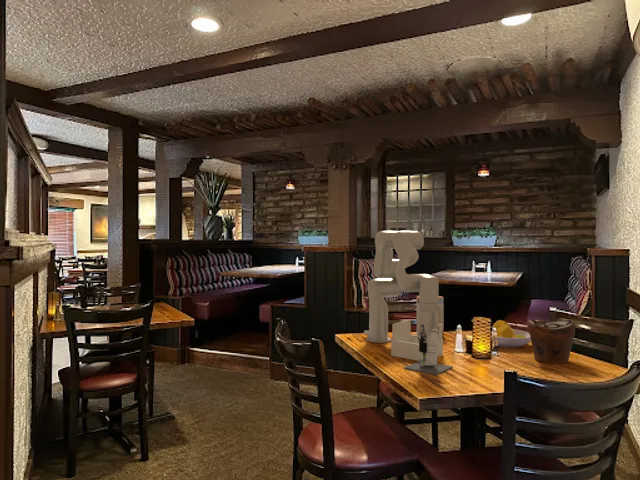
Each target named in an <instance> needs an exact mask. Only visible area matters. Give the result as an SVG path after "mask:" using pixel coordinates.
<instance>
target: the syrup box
mask: <svg viewBox="0 0 640 480" xmlns="http://www.w3.org/2000/svg"><path fill="white" fill-rule="evenodd" d="M423 334H425V335H426V333H425V331H423ZM423 338H425V337H423ZM437 339H438V329H432V331H431V335H430V336H428V337H427V340H426V343H427V353H423V352H420V363H421V364H423V365H424V366H427V365H437V364H438V357H437Z"/></svg>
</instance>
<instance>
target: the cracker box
mask: <svg viewBox="0 0 640 480" xmlns="http://www.w3.org/2000/svg"><path fill="white" fill-rule="evenodd" d="M444 306H445V305H444V297H443V296H442V295H441V296H440V295H438V324H442V336H444V335H445V332H444V331H445V330H444V328H445V327H444V322H445V321H444V319H445V318H444V315H445V313H444ZM419 311H420V310H419V295H416V322H417V321H418V313H419Z"/></svg>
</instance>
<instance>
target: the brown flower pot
mask: <svg viewBox="0 0 640 480" xmlns="http://www.w3.org/2000/svg"><path fill="white" fill-rule="evenodd" d="M526 330H527V331H526V332H528V333H529V334H530V338H531V341H530V343H531V346H532V347H531V348H532V351H533V352H532V353H533V358H534V359H535V360H536V361H538V362H540V363H541V362H542V363H546V364H547V363H548V364H553V365H556V364H558V365H559V364H560V365H563V364H567V363H569V360H570V356H571V350H572V347H573V342H574V340H575V339H574V338H575V335H576V334H575V332H576V326H575V321H574V320H572V319H563V320H559V321H558V320H556V321H549V322H544V321H542V320H540V319H535V320H532V319H530V320H528V323H527V325H526Z"/></svg>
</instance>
